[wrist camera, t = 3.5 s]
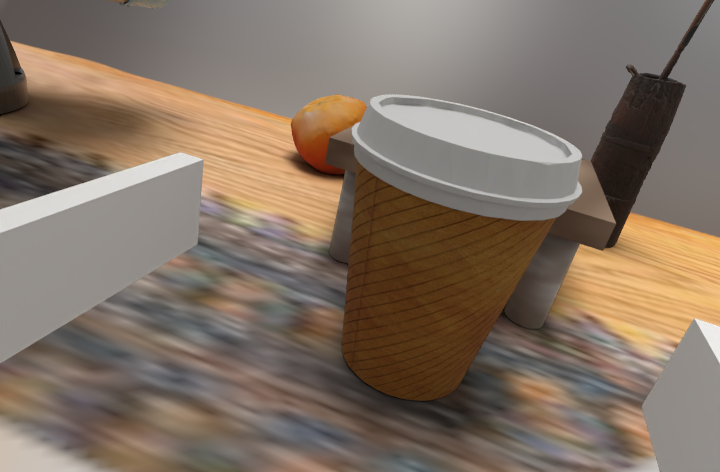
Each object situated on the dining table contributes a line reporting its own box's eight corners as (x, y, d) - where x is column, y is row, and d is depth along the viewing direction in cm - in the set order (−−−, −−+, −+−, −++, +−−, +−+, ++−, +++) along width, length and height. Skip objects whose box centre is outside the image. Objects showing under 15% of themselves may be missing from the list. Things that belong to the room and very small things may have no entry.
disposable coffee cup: (459, 308, 30) (528, 114, 25) (526, 435, 22) (650, 185, 17) (305, 293, 28) (345, 79, 23) (313, 426, 20) (379, 139, 15)
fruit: (398, 172, 47) (373, 93, 43) (322, 206, 46) (288, 129, 42) (374, 145, 54) (350, 74, 49) (307, 174, 53) (277, 105, 49)
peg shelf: (307, 256, 32) (329, 137, 28) (371, 194, 44) (392, 106, 41) (557, 346, 29) (616, 223, 25) (551, 252, 41) (590, 161, 37)
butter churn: (519, 230, 44) (668, -154, 32) (533, 202, 52) (656, -113, 40) (628, 269, 41) (836, -136, 29) (624, 233, 49) (787, -96, 37)
